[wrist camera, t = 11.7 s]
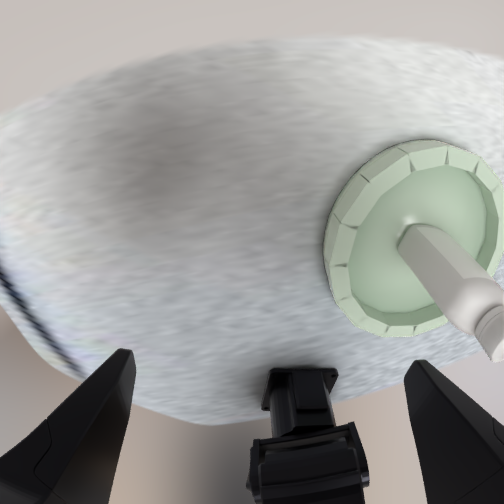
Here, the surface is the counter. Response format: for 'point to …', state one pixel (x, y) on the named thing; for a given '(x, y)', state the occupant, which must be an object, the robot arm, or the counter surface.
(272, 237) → the counter surface
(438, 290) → the eye dropper bottle
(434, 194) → the sage dish
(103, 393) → the robot arm
